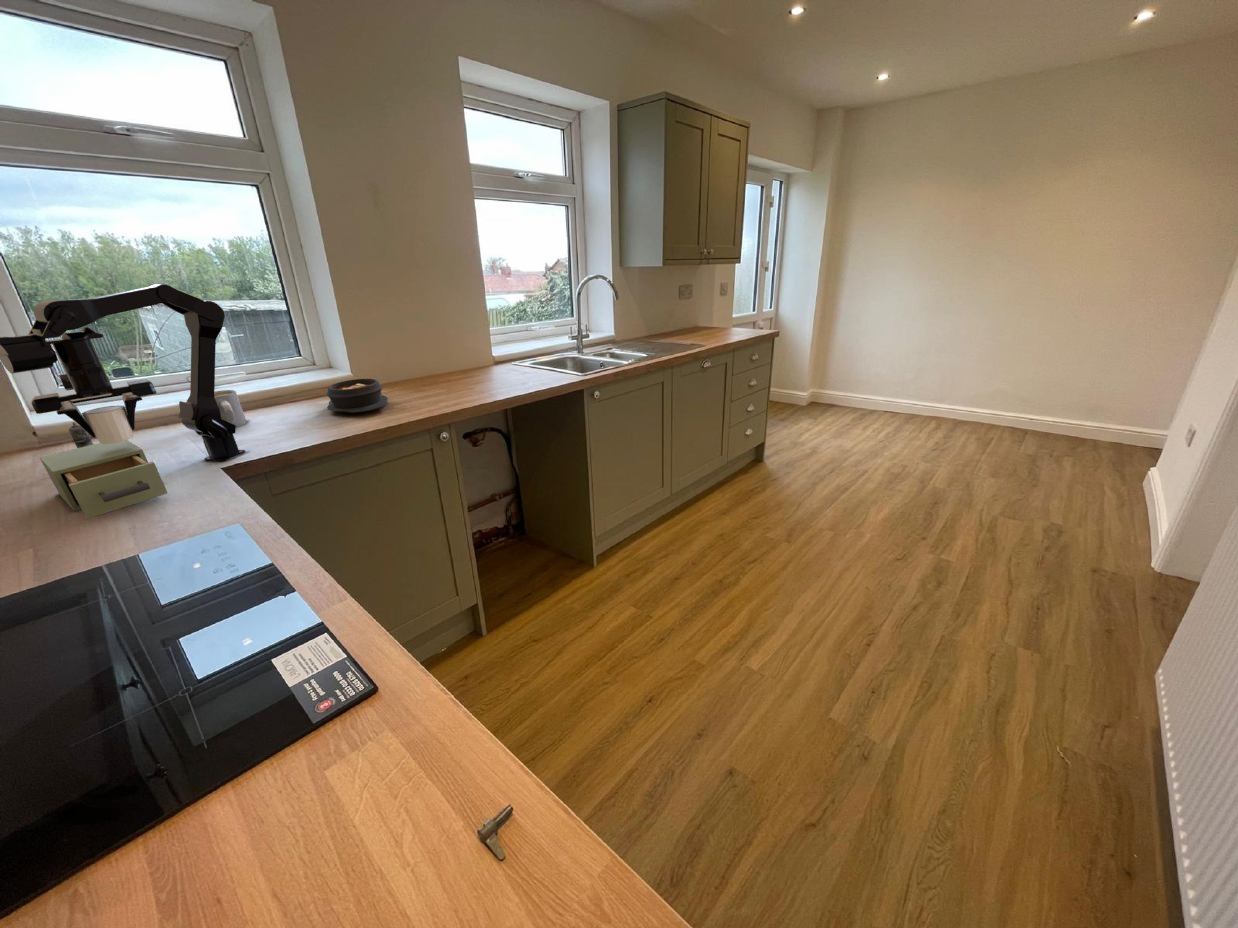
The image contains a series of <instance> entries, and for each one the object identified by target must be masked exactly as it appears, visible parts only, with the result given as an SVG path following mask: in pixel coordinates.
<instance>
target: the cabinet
mask: <svg viewBox="0 0 1238 928" xmlns="http://www.w3.org/2000/svg"><path fill="white" fill-rule="evenodd" d="M93 444H94V445H89V446H85V447H81V448H77V447H76V448H73V449H68V450H64V451H60V452H56V453H52V454H48V455H43V456H39V460H40V462H41V463H42V466H43V467H44V469H45V470H46V472H47V475H48V476H49V478H50V480H51V482H52V484H53V485H54V487H55V489H56V491H57V493H58V494H59V496H60V497H61V498H62V499H63V500H64V502H65V503H66V504H67V505H68V506H69V507H70V509H72V511H73V512H76V511H81V510H82V509H81V507H80V505H79V503H78V501H77V500H76V499H75V497H74V495H73V493H72V491H71V489H70V488H69V486H68V484H67V482H66V480H65V478H64V476H63V474H62V473H66V472H70V471H74V470H77V469H81V468H85V467H89V466H93V465H97V464H101V463H105V462H109V461H112V460H116V459H120V458H124V457H128V456H132V455H136V456H138V457H139V458H141V459H142V460H144V461H145V462H147V463H149V461H148V459H147V457H146V455H145V452H144V450H143V448H141V447H139V446H138V445H136V444H135V443H133V442H131V441H130V440H129V439H128V440H125V441H121V442H117V443H111V444H101V443H100V442H98V443H93Z"/></svg>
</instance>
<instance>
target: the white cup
mask: <svg viewBox="0 0 1238 928" xmlns="http://www.w3.org/2000/svg"><path fill="white" fill-rule="evenodd" d="M81 414H82V415H83V417H84V418H85V420H86V421H87V423H88V424H89V426H90V427H91V429H92V431H93V432H94V434H95V436H96V437H95V438H96V439H97V441H98V443H101V444H111V443H117V442H121V441H125V440H128V441H129V440H130V439H134V437H135V435H134V432H133V430H132V428H131V426H130V423H129V420H128V416H127V413H126V409H125V405H119V404H117V405H108V406H107V405H106V406H101V407H97V408H91V409H88V410H85V411H83V412H81Z"/></svg>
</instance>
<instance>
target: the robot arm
mask: <svg viewBox="0 0 1238 928" xmlns="http://www.w3.org/2000/svg"><path fill="white" fill-rule="evenodd" d="M156 305H163V306H166V307H167V308H169V309H171V310H172V311H174V312H175V313H178V314H180V315H182V316H183V317H184V322H185V326H186V328H187V331H188V333H189V335H190V339H191V341H190V390H189V392H190V393H189V396H188V398H187V399H186V401H179V402H178V407H179V413H178V416H177V418H179V419H181V423H182V425H183V426H184V427H185V428H187V429H189V430H191V431H194V432H195V433H196V434H197V435H198V436H201V438H202V441H203V445H204V447H205V449H206V452H207V454H208V456H205V457H204V458H203V459H204V461H211V462H212V461H213V462H226V461H228V460H230V459H233V458H235V457H237V456H240V455H242V454H245V453H246V449H239V447H238V444H237V442H236V438H235V436H234V435H235V434H236V430H237V429H236V428H237V427H236V426H235V425H234V424H232V423H229V422H227V421H225V420H222V418H221V413H220V408H219V406H218V404H217V402H216V400H215V396H214V391H216V390H215V389H216V388H215V385H216V384H215V383H216V382H215V381H216V347H217V346H216V344H217V343H216V342H217V338H218V337H219V335H220V333H221V331H222V329H223V325H224V322H225V317H226V316H225V314H226V313H225V310H224V309H223V308H222V307H221V306H220V304H218V303H217V302H215V301H212V300H203V299H201V298H198V297H197V296H194V295H191V294H189V293H186V292H184V291H181V290H179V289H177V288H174V287H173V286H171V285H169V284H165V283H164V284H161V283H160V284H159V283H158V284H152V285H150V286H147V287H141V288H137V289H131V290H127V291H126V290H125V291H121V292H117V293H111V294H106V295H100V296H97V297H96V296H95V297H92V298H91V297H90V298H74V299H51V300H49V299H48V300H43V301H40V302H38V303H36V305H35V307H34V308H33V315H34V317H35V320H34V322H33V323H32V326H31V328H30V330H29V332H28V334H26V335H25V334H24V335H17V336H16V335H15V336H0V362H1V364H2V366H3V367H4V368H5V369H6V370H7V372H9V373H10V374H19V373H24V372H26V373H27V372H31V371H38V370H43V369H44V370H45V369H52V368H53V367H54V364H56V363H57V362H58V360H59V361H60V364H61V365H62V368H63V369H64V372H65V373H64V374H58V377H59V380H60V382H61V384H62V386H63V388H64V390H65V391H73V390H74V394H67V395H61V396H60V394H59V393H58V392H53V393H46V394H41V395H35V396H33V398H32V399H31V406H32V408H33V410H34V411H35V413H36V415H40V414H47V413H53V412H56V414H57V415H59V416H60V415H65V416H67V417H68V418H70V419H71V420H72V421H73V422H74V423H76V424H77V425H80V426H81V427H82V428H83V429H84V430H86V431H87V433H88V435H89V436H90V437H92V439H93V438H97V437H96V436H95V434H94V432H93V431H92V429H91V427H90V426H89V424H88V423H87V421H86V420H85V418H84V417H83V415H82V412H81V411H80V409H79V407H78V406H77V405H76V404H79V403H85V402H86V403H87V402H92V401H98V400H104V399H110V398H115V397H121V399H122V401H123V402H122V403H123V404H124V405H123V406H125V409H126V413H127V416H128V420H129V423H130V426H131V429H132V431H134V430H135V428H136V427H135V426H136V423H135V421H136V420H135V419H136V418H135V417H136V416H135V415H136V414H135V413H136V408H137V403H138V402H139V401H140V402H141V401H143V397H146V396H152V395H156V394H157V391H156V388H155V386H154V383H153V382H152V381H151V380H148V379H147V378H145V379H138V380H131V381H127V382H126V384H127V385H124V386H118V387H113V385H112V383H111V381H110V378H109V376H108V375H107V372H106V370H105V368H104V365H103V363H102V361H101V359H100V357H99V355H98V353H97V349H96V348H95V345H94V344H93V342H92V340H94V339H102V338H103V337H104V334H102V333H99V332H97V331H95V330H93V329H92V328H90V327H89V326H87V325H90V324H93V323H95V322H97V321H98V320H100V319H102V318H105V317H107V316H112V315H116V314H120V313H121V314H122V313H125V312H129V311H134V310H138V309H143V308H147V307H152V306H156ZM78 329H81V330H79V331H75V330H78ZM67 331H71V332H67ZM59 337H61V338H59ZM46 339H49V340H46Z"/></svg>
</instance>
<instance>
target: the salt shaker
mask: <svg viewBox="0 0 1238 928" xmlns="http://www.w3.org/2000/svg"><path fill="white" fill-rule="evenodd" d="M68 432H69V433H70V435H71V437H72V443H73V444H74V445H75V446H76V449H77V448H81V447H85V446H89V445H94V444H95V443H94V442H93V440H92V439H93V437H92V436H90V434H89V433H88V432H87V431H86V430H84V429H83V428H82V427H81V426H80V425H79V424H77V422H75V421H73V422H72V426H70V427H69V428H68Z"/></svg>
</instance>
